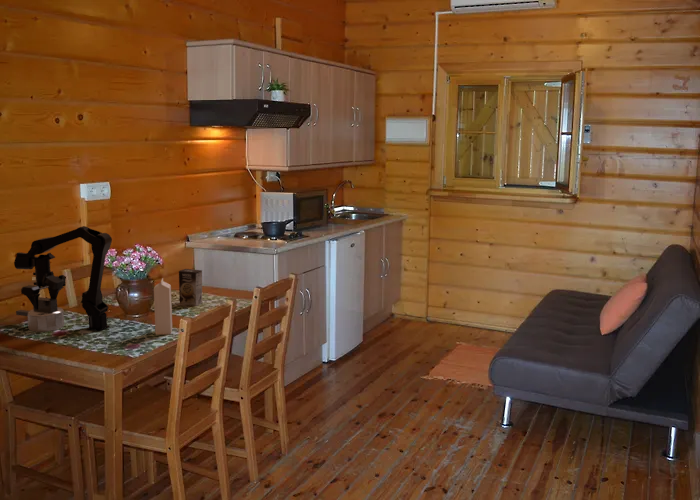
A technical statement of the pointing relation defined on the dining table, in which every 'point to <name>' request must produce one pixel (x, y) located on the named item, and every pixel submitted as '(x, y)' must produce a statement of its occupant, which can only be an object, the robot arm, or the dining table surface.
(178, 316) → the dining table surface
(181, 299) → the coffee box
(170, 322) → the milk
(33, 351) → the dining table surface
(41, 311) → the cup and saucer
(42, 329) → the pot
